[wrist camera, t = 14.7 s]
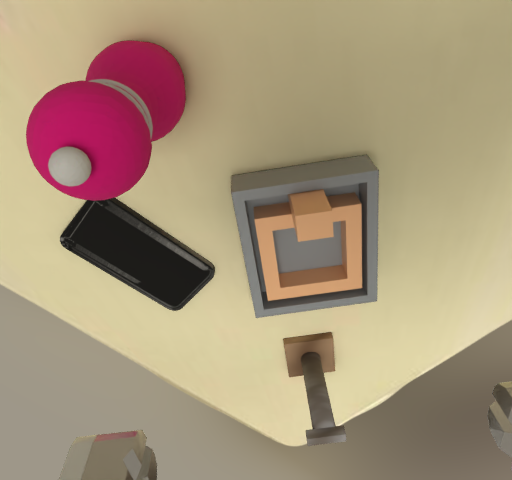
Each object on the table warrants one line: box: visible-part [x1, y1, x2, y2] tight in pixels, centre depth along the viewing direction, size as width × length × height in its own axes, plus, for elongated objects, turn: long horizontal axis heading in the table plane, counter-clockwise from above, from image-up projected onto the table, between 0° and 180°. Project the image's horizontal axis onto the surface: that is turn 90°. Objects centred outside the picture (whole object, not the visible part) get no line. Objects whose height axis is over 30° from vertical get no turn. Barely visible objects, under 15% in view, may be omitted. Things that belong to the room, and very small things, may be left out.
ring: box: [254, 189, 362, 301], centre depth 39 cm, size 10×12×7 cm
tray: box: [231, 155, 379, 318], centre depth 42 cm, size 13×15×4 cm
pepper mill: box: [26, 41, 186, 201], centre depth 26 cm, size 7×7×20 cm
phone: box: [60, 198, 215, 311], centre depth 44 cm, size 8×1×15 cm
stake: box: [283, 332, 346, 446], centre depth 48 cm, size 6×6×12 cm
